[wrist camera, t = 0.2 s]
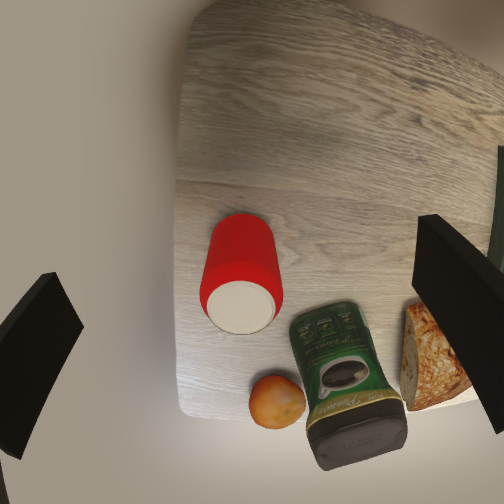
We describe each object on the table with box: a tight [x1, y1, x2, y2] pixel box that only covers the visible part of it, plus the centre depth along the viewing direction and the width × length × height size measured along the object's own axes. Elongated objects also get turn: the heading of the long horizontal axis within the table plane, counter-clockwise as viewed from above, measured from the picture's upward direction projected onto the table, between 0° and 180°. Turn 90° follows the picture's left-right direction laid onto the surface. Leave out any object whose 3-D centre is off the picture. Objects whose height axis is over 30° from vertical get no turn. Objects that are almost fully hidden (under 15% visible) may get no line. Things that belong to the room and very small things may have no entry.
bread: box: [400, 302, 472, 411], centre depth 36 cm, size 20×18×10 cm
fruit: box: [249, 375, 306, 429], centre depth 41 cm, size 8×8×8 cm
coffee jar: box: [289, 302, 408, 471], centre depth 30 cm, size 10×8×19 cm
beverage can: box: [200, 214, 283, 335], centre depth 27 cm, size 6×6×12 cm
